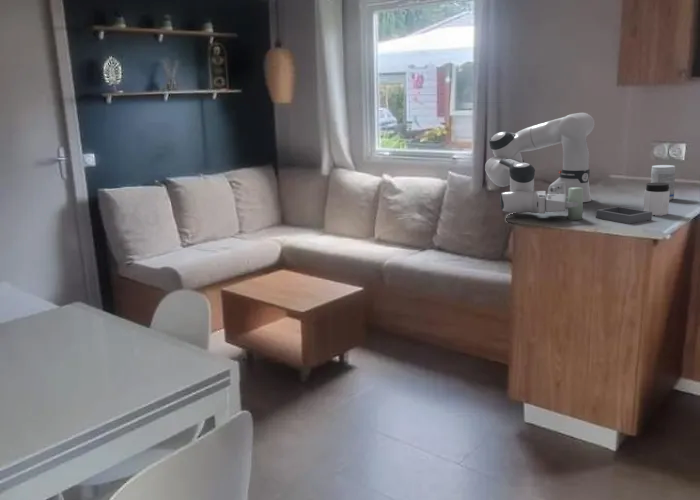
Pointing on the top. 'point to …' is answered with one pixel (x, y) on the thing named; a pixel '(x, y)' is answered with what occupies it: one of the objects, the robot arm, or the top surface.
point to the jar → (657, 198)
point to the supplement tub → (664, 176)
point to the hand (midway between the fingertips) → (577, 202)
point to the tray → (623, 215)
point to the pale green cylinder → (575, 196)
